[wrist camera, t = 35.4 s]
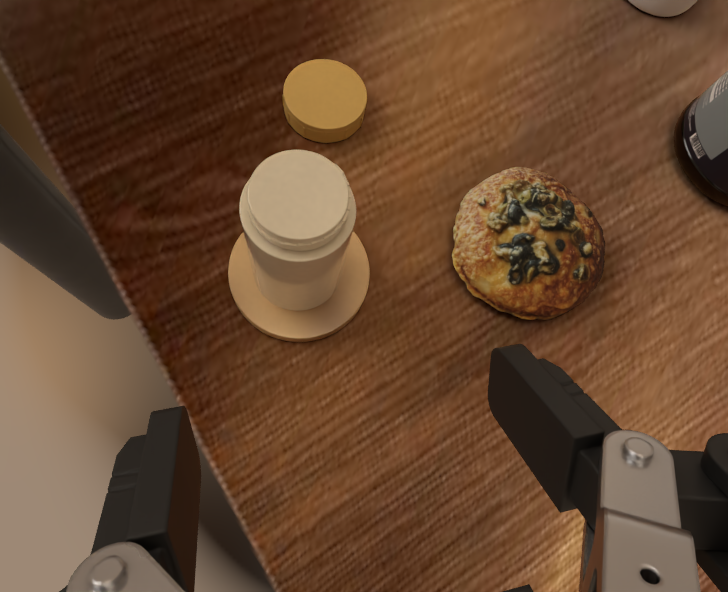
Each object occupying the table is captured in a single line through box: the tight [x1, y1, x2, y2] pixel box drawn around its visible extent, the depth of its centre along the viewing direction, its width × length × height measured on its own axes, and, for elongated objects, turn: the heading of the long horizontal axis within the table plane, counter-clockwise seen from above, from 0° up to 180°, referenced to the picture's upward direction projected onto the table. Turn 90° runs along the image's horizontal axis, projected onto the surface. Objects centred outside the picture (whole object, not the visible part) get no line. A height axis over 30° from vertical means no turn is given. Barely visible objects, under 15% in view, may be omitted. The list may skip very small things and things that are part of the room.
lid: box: [282, 59, 367, 143], centre depth 37 cm, size 6×6×2 cm
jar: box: [239, 150, 356, 311], centre depth 28 cm, size 6×6×10 cm
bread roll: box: [452, 167, 605, 320], centre depth 34 cm, size 11×11×5 cm
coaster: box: [228, 232, 370, 342], centre depth 33 cm, size 9×9×1 cm
